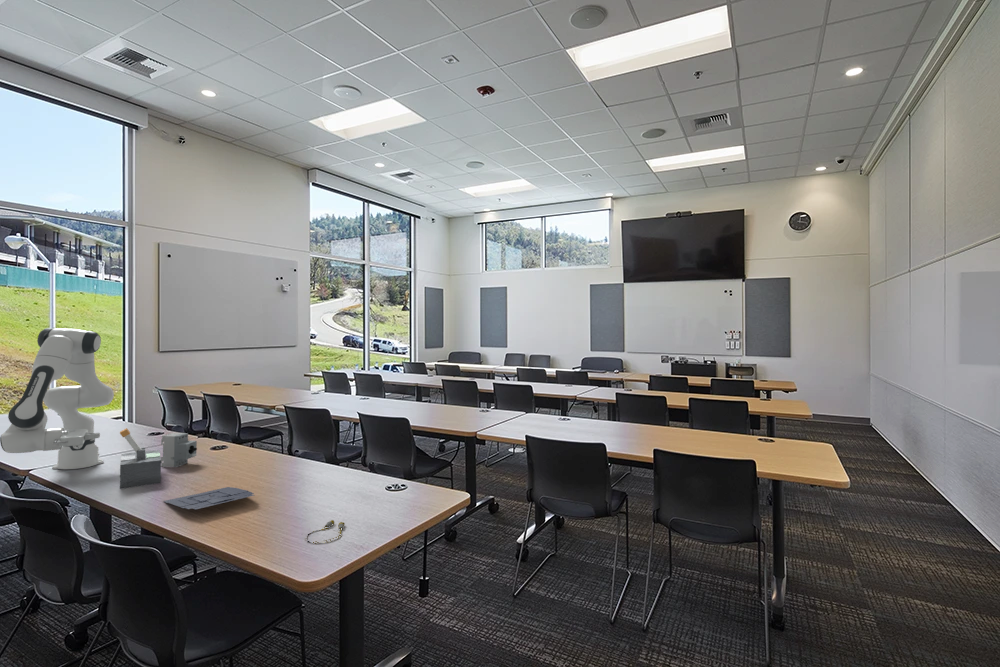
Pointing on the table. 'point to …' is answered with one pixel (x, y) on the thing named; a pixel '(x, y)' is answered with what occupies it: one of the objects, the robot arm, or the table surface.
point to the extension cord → (333, 523)
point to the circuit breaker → (177, 449)
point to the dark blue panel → (210, 498)
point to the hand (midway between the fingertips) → (99, 435)
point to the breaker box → (140, 468)
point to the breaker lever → (130, 439)
